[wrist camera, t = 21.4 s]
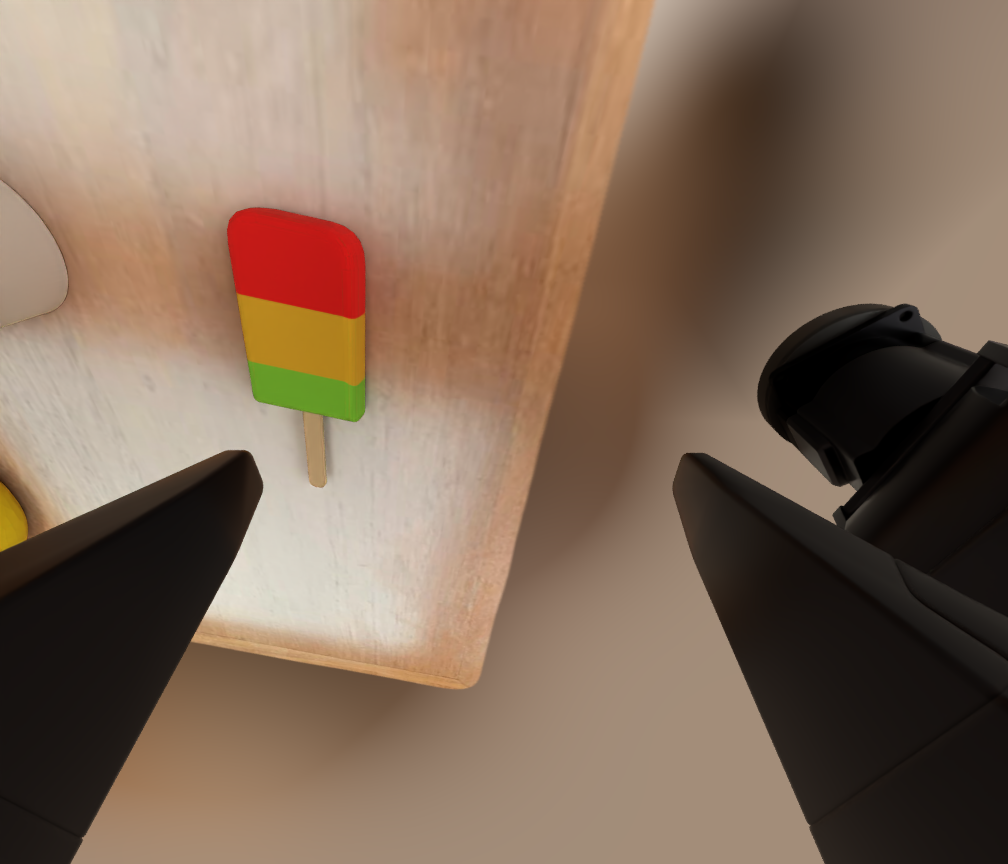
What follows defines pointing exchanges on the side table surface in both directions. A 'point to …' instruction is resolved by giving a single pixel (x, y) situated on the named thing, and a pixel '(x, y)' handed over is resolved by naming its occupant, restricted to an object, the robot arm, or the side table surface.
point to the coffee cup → (27, 262)
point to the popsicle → (302, 317)
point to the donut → (11, 520)
